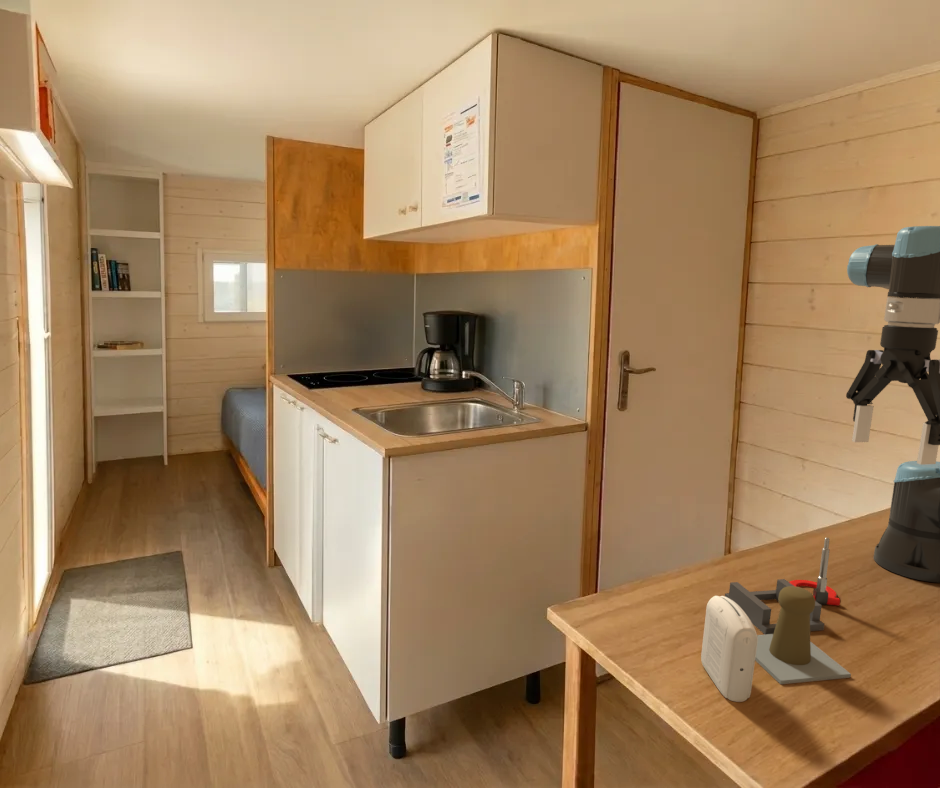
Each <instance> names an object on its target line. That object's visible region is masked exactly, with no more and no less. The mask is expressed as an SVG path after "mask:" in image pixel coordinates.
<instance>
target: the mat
mask: <svg viewBox="0 0 940 788" xmlns="http://www.w3.org/2000/svg"><path fill="white" fill-rule="evenodd" d="M757 637H758V641H757V649H756V657H755V663H758V665H760V667H762V668H763V670H764V671H766V672H767V673H768V674H769V675H770V676H771V677H772V678H773V679H775V681H776V682H778V683H779V685H786V684H787V685H788V684H797V683H806V682H807V683H808V682H818V681H819V682H820V681H828V680H829V681H830V680H839V679H846V678H847V679H848V678H851V676H852V674H851V673H850V672H849V670H847V669H846V668H844V667H843V666H842V665H841V664H839V662H837V661H836V660H834V659H833V658H832V657H831V656H829V655H828V654H827V653H826V652H825V651H823V650H822V649H821V648H819V647H818V646H817V645H816V644H814V643H813V642H812V641H811V640H810V647H811V661H810V662H809V663H808V664H805V665H794V664H789V663H786V662H783V661H781V660H779V659H777V658H776V657H774V656H773V655H772V654H771V653H770V651H769V648H770V644H771V641H772V637H773V634H757Z"/></svg>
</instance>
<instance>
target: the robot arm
mask: <svg viewBox="0 0 940 788" xmlns="http://www.w3.org/2000/svg"><path fill="white" fill-rule="evenodd" d="M846 272H847V276H848V277H847V278H849V280H850V281H851V283H852V284H853V285H855V286H858V287H859V286H860V287H867V288H871V287H874V288H875V287H876V288H883V289H886V290H888V292H887V297H886V304H885V310H884V316H883V320H884V321H885V322H886V323H887V324H885V325H883V327H882V329H881V337H880V342H879V343H880V346H881V347H882V348H883V350H882V349H868V350H867V351H866V355H865V358H864V361H863V364H862V365H861V367H860V369H859V371H858V372H857V374H856V376H855V378H854V379H853V382H852V384H851V385H850V387H849V388H848V390H847V392H846V395H845V396H846V397H845V398H846V399H848V400H851V401H853V404H854V408H853V409H854V410H853V416H852V417H853V418H852V420H853V422H854V423H853V424H854V425H853V433H852V437H851V438H852V439H851V442H853V443H869V440H870V433H871V427H872V420H873V413H874V405H873V404H874V403H873V400H875V399H876V398H877V397H878V395H879V394H880V393H881V392H883V390H885V388H886V387H888V385H889V384H890V383H891V382H899V383H902V384H907V386H908V387H909V388H911V389H912V391H913V393H914V396H916V397H915V398H916V399H917V401H918V403H919V405H920V407H921V409H922V412H924V413H923V414H925V415H924V416H926V419H927V421H925V422H923V423H922V428H921V435H920V440H919V447H918V452H917V459H916V460H909V461H905V462H903V463H900V464H899V465H898V467H897V468H896V472H895V478H894V480H893V489H892V497H891V504H890V509H889V517H888V524H887V526H886V529H885V531H884V532H883V534H882V535H881V537H880V539H879V542H878V543H877V544H876V545H875V548H874V551H873V560H874V562H875V563H876V564H877V565H879V567H881V568H884V569H886V570H887V571H889V572H892V573H894V574H897V575H898V576H899V575H900V576H903V577H906V578H909V579H913V580H918V581H922V582H928V583H929V582H930V583H940V461H937V458H938V453H939V446H940V359H931V353H932V352H933V351H935V349H936V348H937V347H936V346H937V342H938V341H937V340H938V334H939V330H938V328H936V327H935V326H936V325H938V324H940V225H921V226H920V225H919V226H917V225H916V226H906V227H903V228H901V229H900V230H898V232H897V235H896V237H895V243H894V244H877V243H876V244H874V245H873V244H871V245H864V246H860V247H858V248H856V249H854V251H853V252H852V253H851V255H850V256H849V259H848V264H847V267H846Z"/></svg>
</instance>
